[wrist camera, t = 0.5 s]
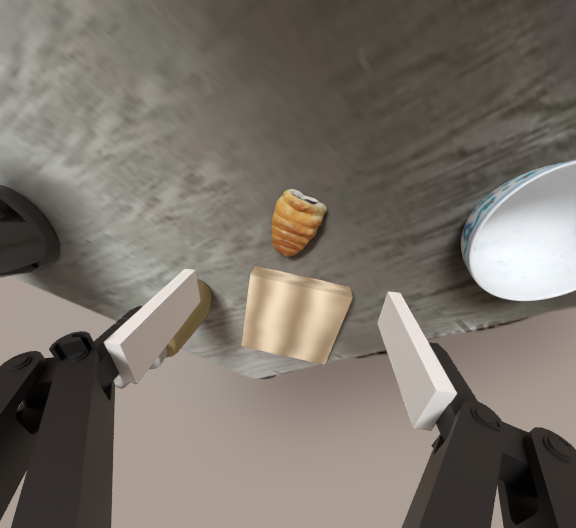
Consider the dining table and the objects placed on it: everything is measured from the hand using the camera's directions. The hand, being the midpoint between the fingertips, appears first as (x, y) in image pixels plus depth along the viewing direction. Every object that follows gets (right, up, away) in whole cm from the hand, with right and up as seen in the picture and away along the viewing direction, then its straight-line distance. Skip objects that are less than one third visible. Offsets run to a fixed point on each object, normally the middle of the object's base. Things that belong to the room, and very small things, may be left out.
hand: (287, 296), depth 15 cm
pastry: (+2, +9, +17) cm, 19 cm away
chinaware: (+28, +8, +14) cm, 32 cm away
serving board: (+1, -7, +25) cm, 26 cm away
